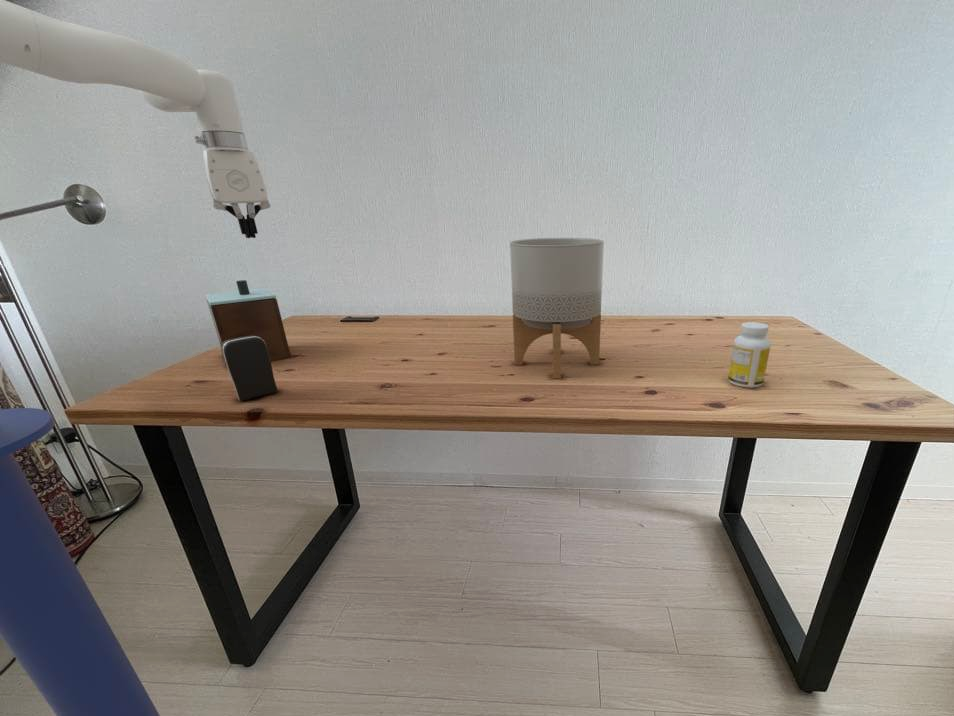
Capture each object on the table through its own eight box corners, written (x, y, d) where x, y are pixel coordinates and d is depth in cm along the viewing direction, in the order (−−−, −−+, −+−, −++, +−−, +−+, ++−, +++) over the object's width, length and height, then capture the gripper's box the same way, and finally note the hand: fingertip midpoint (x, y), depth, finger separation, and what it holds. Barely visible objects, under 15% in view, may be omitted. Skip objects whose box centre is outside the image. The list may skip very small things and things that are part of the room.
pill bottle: (763, 379, 91) (775, 322, 87) (762, 391, 86) (774, 330, 81) (729, 375, 94) (738, 319, 89) (725, 385, 89) (735, 327, 84)
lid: (210, 305, 96) (204, 288, 95) (205, 297, 105) (200, 281, 104) (276, 297, 103) (272, 281, 102) (266, 290, 112) (262, 275, 111)
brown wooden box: (229, 368, 102) (210, 306, 96) (223, 355, 111) (205, 297, 106) (291, 357, 109) (276, 298, 103) (280, 345, 118) (266, 291, 113)
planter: (595, 350, 110) (599, 237, 100) (602, 378, 93) (608, 244, 83) (518, 351, 111) (513, 238, 100) (511, 378, 94) (505, 246, 83)
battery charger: (273, 387, 91) (258, 331, 86) (280, 392, 89) (264, 335, 84) (234, 397, 87) (215, 339, 82) (239, 403, 84) (221, 343, 80)
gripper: (183, 139, 88) (212, 240, 95) (269, 144, 96) (290, 236, 104) (181, 143, 93) (209, 238, 101) (263, 147, 101) (284, 235, 109)
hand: (250, 237), depth 102 cm, fingers closed
